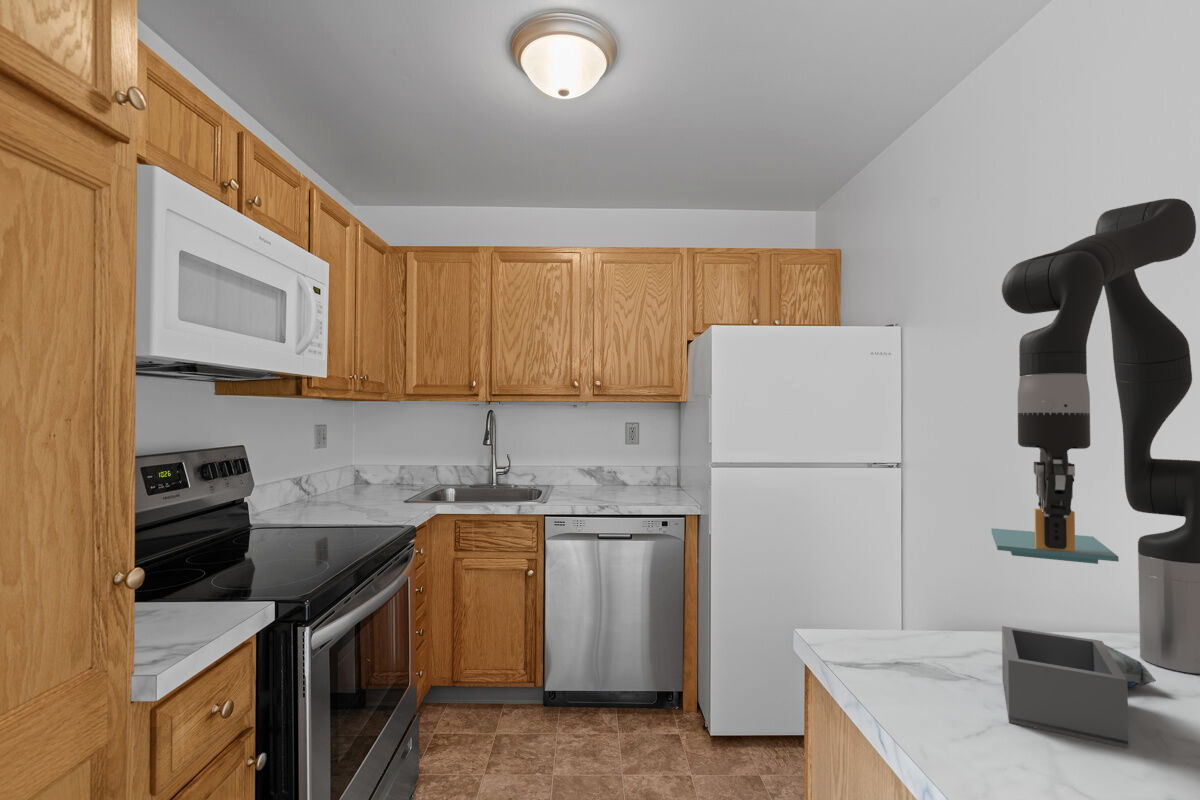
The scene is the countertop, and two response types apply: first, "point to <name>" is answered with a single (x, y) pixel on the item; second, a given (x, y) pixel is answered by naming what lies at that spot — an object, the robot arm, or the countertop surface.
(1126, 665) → the packaged food
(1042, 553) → the lid
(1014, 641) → the tub
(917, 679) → the countertop surface
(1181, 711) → the countertop surface
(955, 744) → the countertop surface
